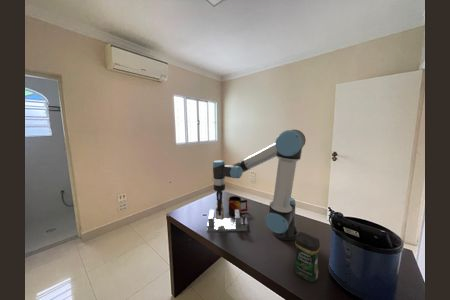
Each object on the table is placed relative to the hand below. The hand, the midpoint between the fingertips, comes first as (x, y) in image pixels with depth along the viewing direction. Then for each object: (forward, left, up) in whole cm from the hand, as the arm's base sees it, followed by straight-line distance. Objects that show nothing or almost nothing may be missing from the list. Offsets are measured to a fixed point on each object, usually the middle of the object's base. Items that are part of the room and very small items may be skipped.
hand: (220, 216), depth 117 cm
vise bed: (-5, 0, -7) cm, 8 cm away
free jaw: (-14, +1, -5) cm, 15 cm away
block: (0, 0, 0) cm, 0 cm away
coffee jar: (-41, +39, -7) cm, 57 cm away
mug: (-12, -17, -7) cm, 22 cm away
